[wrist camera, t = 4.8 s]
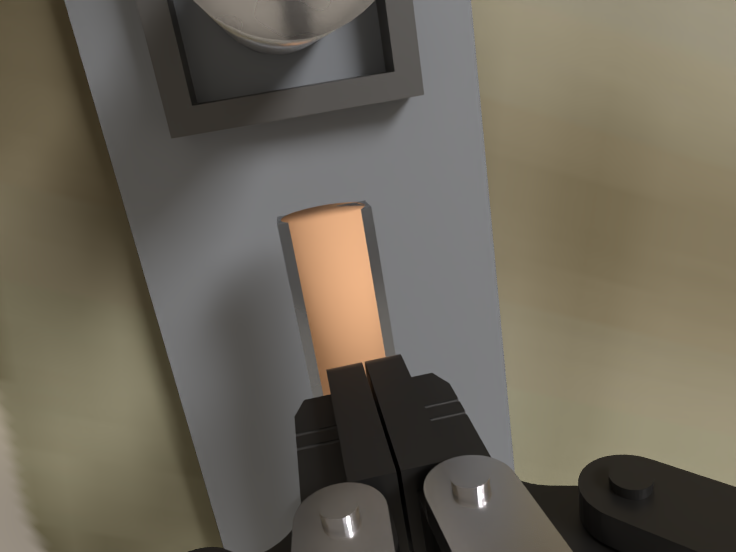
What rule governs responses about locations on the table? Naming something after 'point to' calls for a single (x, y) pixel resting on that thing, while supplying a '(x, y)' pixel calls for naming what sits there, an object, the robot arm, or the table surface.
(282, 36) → the translucent white cylinder
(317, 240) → the lever
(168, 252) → the grey flat base
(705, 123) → the table surface
